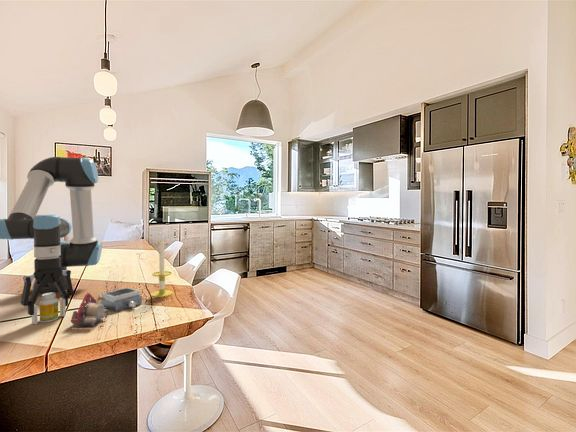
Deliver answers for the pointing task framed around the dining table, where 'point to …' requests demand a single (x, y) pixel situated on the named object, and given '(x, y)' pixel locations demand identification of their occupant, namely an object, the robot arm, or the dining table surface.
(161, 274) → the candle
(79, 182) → the robot arm
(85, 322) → the brake caliper
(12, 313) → the dining table surface
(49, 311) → the supplement bottle
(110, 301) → the gray drawer
